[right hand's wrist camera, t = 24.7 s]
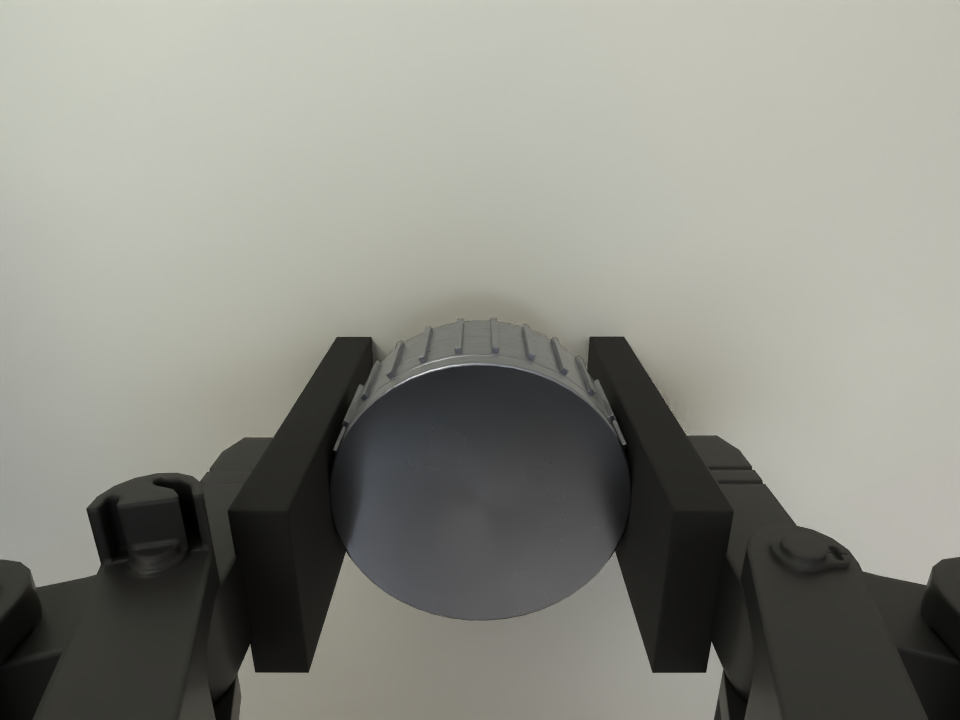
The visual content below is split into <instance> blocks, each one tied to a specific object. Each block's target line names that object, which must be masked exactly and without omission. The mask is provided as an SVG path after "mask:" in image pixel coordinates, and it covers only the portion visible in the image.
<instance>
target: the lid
mask: <svg viewBox="0 0 960 720" xmlns="http://www.w3.org/2000/svg"><path fill="white" fill-rule="evenodd" d="M342 425H343V428H342V430H341V432H340V435H339V437H338V439H337V442H336V444H335V446H334V448H333V455H334V459H333V463H332V467H331V472H330V479H329V494H330V504H331V514H332V519H333V523H334V526H335V529H336V531H337V534H338V536H339V539H340V541H341V543H342V545H343V546H344V548H345V550H346V552H347V553H348V555H349V557H350V558H351V559H352V560H353V562H354V563H355V564H356V566H357V567H358V568H359V569H360V570H361V571H362V572H363V573H364V574H365V575H366V576H367V577H368V578H369V579H370V580H371V581H372V582H373V583H374V584H376V585H377V586H378V587H379V588H381V589H382V590H383V591H385V592H386V593H388V594H389V595H391V596H393V597H394V598H396V599H398V600H399V601H401V602H403V603H405V604H408V605H410V606H412V607H414V608H416V609H419V610H422V611H425V612H428V613H431V614H434V615H439V616H444V617H448V618H454V619H463V620H498V619H507V618H512V617H517V616H522V615H526V614H529V613H532V612H536V611H539V610H542V609H544V608H546V607H549V606H551V605H553V604H556V603H558V602H559V601H561V600H563V599H565V598H566V597H568V596H570V595H572V594H573V593H575V592H576V591H577V590H579V589H580V588H581V587H583V586H584V585H585V584H587V583H588V582H589V581H590V580H591V579H592V578H593V577H594V576H595V575H596V574H597V573H598V572H599V571H600V570H601V569H602V568H603V566H604V565H605V564H606V563H607V562H608V560H609V559H610V558H611V556H612V554H613V553H614V551H615V549H616V548H617V546H618V545H619V542H620V540H621V538H622V536H623V533H624V531H625V529H626V525H627V522H628V518H629V514H630V505H631V496H632V478H631V473H630V467H629V462H628V459H627V456H626V453H625V451H624V450H625V449H628V447H627V443H626V441H625V439H624V436H623V434H622V432H621V430H620V427H619V425H618V423H617V420H616V418H615V415H614V413H613V411H612V408H611V406H610V404H609V402H608V399H607V397H606V395H605V392H604V390H603V388H602V386H601V383H600V382H599V380H598V379H597V380H595V381H594V380H593V378H592V377H591V376H590V374H589V373H588V371H587V369H586V366H585V364H584V362H583V359H582V358H581V357H580V356H578V357H577V358H575V357H574V356H573V355H572V354H571V353H570V352H568V351H567V350H566V349H565V348H563V347H562V346H561V345H560V343H559V340H558V339H557V338H555V337H553V338H552V340H551V339H549V338H548V337H546V336H544V335H542V334H540V333H537V332H535V331H532V330H530V327H529V325H526V324H523V327H521V326H517V325H513V324H510V323H503V322H497V318H491V320H490V321H466V322H464V320H463V319H457V323H452V324H448V325H444V326H440V327H436V328H434V329H432V328H431V326H429V327H426V328H425V332H423V333H421V334H419V335H417V336H415V337H413V338H411V339H410V340H408V341H406V342H404V343H403V341H402V340H401V341H399V342H398V343H397V345H396V347H395V350H393V351H392V352H391V353H390V354H389V355H388V356H387V357H386V358H385V359H384V360H383V361H381V362H379V361H378V360H377V361H376V362H375V363H374V365H373V367H372V370H371V372H370V375H369V377H368V380H367V381H366V383H365V385H364V386H363V385H361V384H360V385H359V386H358V388H357V391H356V393H355V395H354V397H353V400H352V402H351V404H350V407H349V409H348V411H347V414H346V416H345V418H344V421H343V423H342Z"/></svg>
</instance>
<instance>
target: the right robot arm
mask: <svg viewBox="0 0 960 720" xmlns="http://www.w3.org/2000/svg"><path fill="white" fill-rule="evenodd" d="M372 367H373V357H372V342H371V337H337V338H336V339H335V341H334V343H333V344H332V346H331V347H330V349H329V351H328V352H327V354H326V355H325V357H324V358H323V360H322V362H321V363H320V365H319V366H318V368H317V370H316V371H315V373H314V374H313V376H312V377H311V379H310V381H309V382H308V384H307V385H306V387H305V389H304V390H303V392H302V393H301V395H300V396H299V398H298V400H297V401H296V403H295V404H294V406H293V408H292V409H291V411H290V412H289V414H288V416H287V417H286V419H285V420H284V422H283V423H282V425H281V427H280V428H279V430H278V431H277V433H276V435H275V436H274V438H243V439H242V440H240V441H239V442H237V443H236V444H234V445H233V446H231V447H229V448H228V449H226V450H225V451H223V452H222V453H221V455H220V456H219V457H218V459H217V460H216V461H215V463H214V464H213V465H212V467H211V468H210V472H207V473H206V475H205V476H204V477H203V478H202V480H201V481H200V482H199V481H198V480H197V479H195V478H194V477H193V476H189V475H184V474H180V473H157V474H152V475H147V476H142V477H138V478H134V479H131V480H129V481H126V482H124V483H121V484H118V485H116V486H114V487H112V488H110V489H109V490H107V491H106V492H104V493H102V494H101V495H99V496H98V497H96V499H95V500H94V501H93V502H92V503H91V504H90V505H89V506H88V508H87V509H86V510H87V513H88V517H89V521H90V524H91V528H92V532H93V536H94V539H95V543H96V547H97V550H98V554H99V558H100V562H101V566H100V568H99V571H98V573H97V575H94V576H90V577H86V578H82V579H77V580H72V581H67V582H62V583H57V584H52V585H48V586H43V587H38V588H36V587H35V584H34V581H33V577H32V574H31V571H30V569H29V568H27V567H26V566H25V565H23V564H22V563H21V562H16V561H9V560H0V720H239V713H240V703H241V692H240V685H239V680H238V674H237V673H238V670H239V668H240V666H241V664H242V661H243V659H244V657H245V654H246V652H247V650H248V647H249V645H250V644H251V650H252V656H253V662H254V667H255V672H278V673H309V670H310V666H311V663H312V660H313V657H314V653H315V650H316V647H317V644H318V640H319V637H320V634H321V631H322V627H323V624H324V621H325V618H326V614H327V611H328V608H329V605H330V601H331V598H332V595H333V592H334V588H335V585H336V582H337V579H338V575H339V572H340V569H341V566H342V562H343V559H344V556H345V553H346V550H345V548H344V546H343V545H342V543H341V541H340V539H339V536H338V534H337V531H336V529H335V526H334V523H333V519H332V514H331V504H330V494H329V479H330V472H331V467H332V463H333V459H334V455H333V448H334V446H335V444H336V442H337V439H338V437H339V435H340V432H341V430H342V428H343V425H342V423H343V421H344V418H345V416H346V414H347V411H348V409H349V407H350V404H351V402H352V400H353V397H354V395H355V393H356V391H357V388H358V386H359V385H360V384H361V385H363V386H364V385H365V383H366V381H367V380H368V377H369V375H370V372H371V370H372ZM588 373H589V374H590V376H591V377H592V378H593V380H594V381H595V380H597V379H598V380H599V382H600V383H601V386H602V388H603V390H604V392H605V395H606V397H607V399H608V402H609V404H610V406H611V408H612V411H613V413H614V415H615V418H616V420H617V423H618V425H619V427H620V430H621V432H622V434H623V436H624V439H625V441H626V443H627V447H628V449H625V450H624V451H625V453H626V456H627V459H628V462H629V467H630V473H631V478H632V496H631V505H630V514H629V518H628V522H627V525H626V529H625V531H624V533H623V536H622V538H621V540H620V542H619V545H618V546H617V548H616V549H615V552H616V555H617V559H618V562H619V565H620V568H621V572H622V575H623V578H624V581H625V584H626V588H627V591H628V594H629V597H630V601H631V604H632V607H633V610H634V614H635V617H636V620H637V623H638V627H639V630H640V633H641V636H642V640H643V643H644V646H645V649H646V653H647V656H648V659H649V662H650V666H651V669H652V672H653V673H706V670H707V664H708V658H709V652H710V647H711V641H712V643H713V646H714V648H715V650H716V653H717V655H718V657H719V659H720V662H721V664H722V666H723V674H722V680H721V685H720V690H719V696H718V701H717V706H716V712H715V717H714V720H960V557H957V558H950V559H943V560H941V561H940V562H939V563H937V564H936V565H935V566H933V568H932V571H931V574H930V577H929V580H928V583H927V585H922V584H917V583H912V582H907V581H902V580H897V579H893V578H888V577H883V576H878V575H874V574H870V573H867V572H863V571H862V569H861V567H860V565H859V563H858V562H857V560H856V559H855V558H854V556H853V555H852V554H851V552H850V551H849V550H848V549H846V548H845V547H844V546H842V545H841V544H839V543H838V542H837V541H835V540H834V539H832V538H830V537H828V536H826V535H823V534H821V533H819V532H817V531H814V530H812V529H808V528H803V527H799V526H797V525H796V524H795V523H794V521H793V520H792V519H791V517H790V516H789V515H788V514H787V512H786V511H785V510H784V508H783V507H782V506H781V504H780V503H779V502H778V500H777V499H776V498H775V496H774V495H773V494H772V492H771V491H770V490H769V489H768V487H767V486H766V485H765V484H763V483H762V479H761V478H760V477H759V475H758V474H757V473H756V471H755V470H752V466H751V465H750V464H749V462H748V461H747V460H746V458H745V457H744V456H743V454H742V453H741V452H740V450H738V449H737V448H735V447H734V446H732V445H731V444H729V443H727V442H726V441H724V440H723V439H721V438H720V437H718V436H686V434H685V432H684V431H683V429H682V428H681V426H680V425H679V423H678V421H677V420H676V418H675V417H674V415H673V414H672V412H671V410H670V409H669V407H668V406H667V404H666V402H665V401H664V399H663V398H662V396H661V395H660V393H659V391H658V390H657V388H656V387H655V385H654V384H653V382H652V380H651V379H650V377H649V376H648V374H647V372H646V371H645V369H644V368H643V366H642V365H641V363H640V361H639V360H638V358H637V357H636V355H635V354H634V352H633V350H632V349H631V347H630V346H629V344H628V342H627V341H626V339H625V338H624V337H590V341H589V356H588Z"/></svg>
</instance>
